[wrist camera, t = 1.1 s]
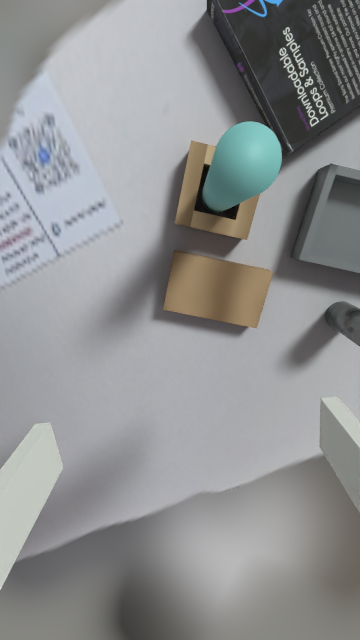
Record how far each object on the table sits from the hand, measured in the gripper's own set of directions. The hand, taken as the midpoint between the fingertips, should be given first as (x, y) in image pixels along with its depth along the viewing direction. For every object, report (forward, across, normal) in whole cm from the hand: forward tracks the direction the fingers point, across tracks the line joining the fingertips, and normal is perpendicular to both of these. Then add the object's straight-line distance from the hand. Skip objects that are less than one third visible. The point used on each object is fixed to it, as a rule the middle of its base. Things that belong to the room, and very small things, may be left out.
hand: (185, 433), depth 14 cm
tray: (+19, +18, +8) cm, 27 cm away
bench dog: (+19, +17, -2) cm, 26 cm away
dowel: (+20, +4, +12) cm, 23 cm away
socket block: (+20, +4, +12) cm, 23 cm away
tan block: (+20, +4, +3) cm, 21 cm away
